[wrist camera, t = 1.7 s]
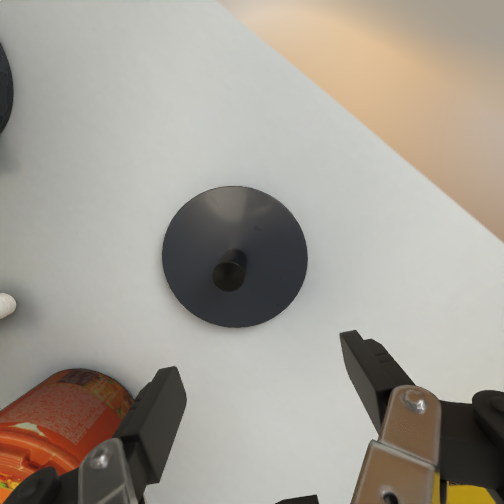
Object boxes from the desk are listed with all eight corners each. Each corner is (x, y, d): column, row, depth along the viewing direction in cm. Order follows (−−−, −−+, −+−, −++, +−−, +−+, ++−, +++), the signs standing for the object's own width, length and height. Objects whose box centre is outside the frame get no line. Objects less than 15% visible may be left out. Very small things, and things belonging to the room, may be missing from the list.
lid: (258, 156, 24) (258, 142, 18) (330, 280, 26) (352, 305, 20) (138, 235, 26) (101, 247, 20) (216, 344, 28) (204, 384, 22)
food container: (35, 460, 33) (-71, 585, 22) (14, 351, 29) (-123, 438, 19) (156, 466, 32) (107, 596, 22) (149, 357, 29) (86, 449, 18)
